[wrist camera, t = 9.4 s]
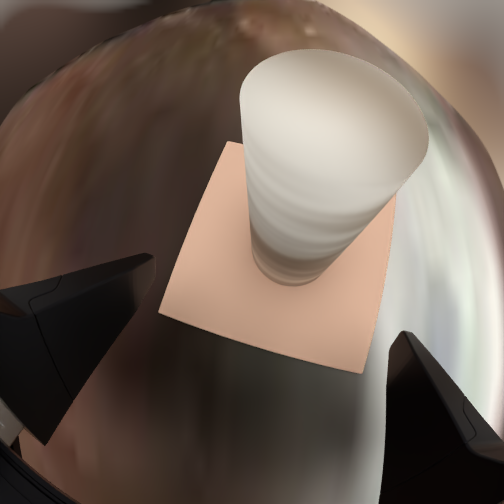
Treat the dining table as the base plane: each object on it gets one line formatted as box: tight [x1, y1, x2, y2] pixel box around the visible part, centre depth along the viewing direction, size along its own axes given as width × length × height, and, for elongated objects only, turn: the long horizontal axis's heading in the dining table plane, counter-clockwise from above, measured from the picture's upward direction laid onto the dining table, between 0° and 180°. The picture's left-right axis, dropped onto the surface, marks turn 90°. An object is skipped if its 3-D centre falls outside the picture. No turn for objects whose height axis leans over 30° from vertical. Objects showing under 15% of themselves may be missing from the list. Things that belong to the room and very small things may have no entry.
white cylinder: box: [240, 49, 429, 286], centre depth 12 cm, size 5×5×12 cm
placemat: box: [159, 141, 396, 374], centre depth 18 cm, size 13×13×1 cm
